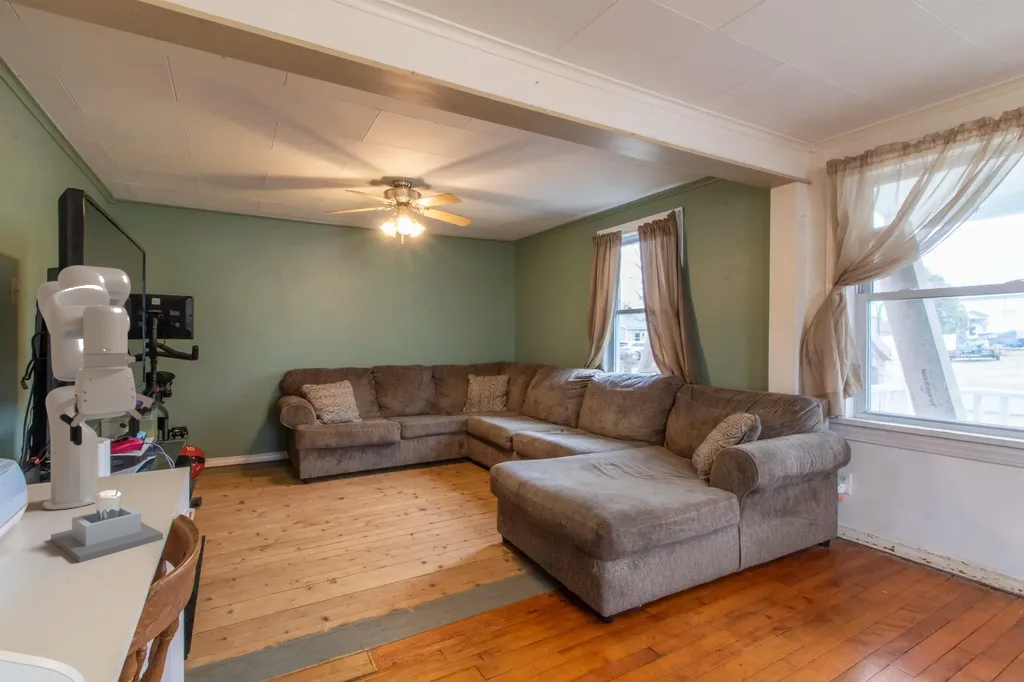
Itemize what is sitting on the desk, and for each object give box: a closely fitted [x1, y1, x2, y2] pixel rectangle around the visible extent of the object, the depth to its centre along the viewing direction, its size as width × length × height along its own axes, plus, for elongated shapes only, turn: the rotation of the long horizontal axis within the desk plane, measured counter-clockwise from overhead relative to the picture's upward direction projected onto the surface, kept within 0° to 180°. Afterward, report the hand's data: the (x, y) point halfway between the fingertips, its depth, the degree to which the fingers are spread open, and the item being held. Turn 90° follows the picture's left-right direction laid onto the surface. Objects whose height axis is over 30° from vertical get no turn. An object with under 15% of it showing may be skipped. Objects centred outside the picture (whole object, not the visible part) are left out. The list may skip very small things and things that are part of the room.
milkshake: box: [94, 487, 122, 522], centre depth 108 cm, size 4×5×10 cm
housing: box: [50, 505, 164, 563], centre depth 107 cm, size 20×14×5 cm
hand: (106, 440), depth 107 cm, fingers open, 9 cm apart
